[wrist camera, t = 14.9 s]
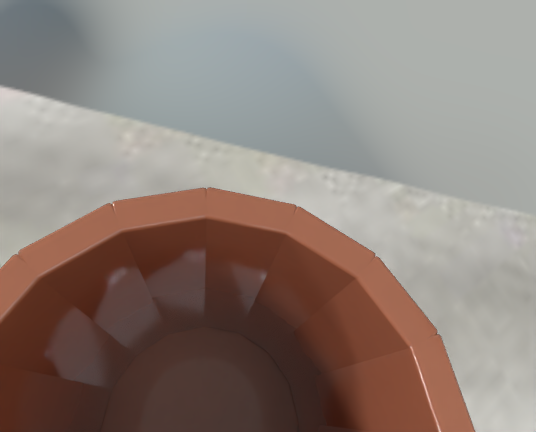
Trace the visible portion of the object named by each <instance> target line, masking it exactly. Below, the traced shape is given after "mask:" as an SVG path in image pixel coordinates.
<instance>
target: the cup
mask: <svg viewBox="0 0 536 432" xmlns="http://www.w3.org/2000/svg"><path fill="white" fill-rule="evenodd" d="M0 432H475V430H474V427H473V424H472V421H471V418H470V416H469V413H468V410H467V407H466V405H465V402H464V399H463V396H462V393H461V391H460V388H459V385H458V382H457V380H456V377H455V374H454V371H453V368H452V366H451V363H450V360H449V357H448V355H447V352H446V349H445V346H444V344H443V341H442V338H441V336H440V335H439V334H437V329H436V328H435V327H434V326H433V324H432V323H431V322H430V321H429V319H428V318H427V317H426V316H425V314H424V313H423V312H422V311H421V309H420V308H419V307H418V306H417V304H416V303H415V302H414V301H413V299H412V298H411V297H410V296H409V294H408V293H407V292H406V291H405V289H404V288H403V287H402V286H401V284H400V283H399V282H398V281H397V279H396V278H395V277H394V276H393V274H392V273H391V272H390V271H389V269H388V268H387V267H386V266H385V264H384V263H383V262H382V261H381V259H380V258H379V257H377V256H376V257H375V253H374V252H372V251H371V250H369V249H367V248H366V247H364V246H363V245H361V244H359V243H358V242H356V241H354V240H353V239H351V238H350V237H348V236H346V235H345V234H343V233H341V232H340V231H338V230H337V229H335V228H333V227H332V226H330V225H329V224H327V223H325V222H324V221H322V220H320V219H319V218H317V217H316V216H314V215H312V214H311V213H309V212H307V211H306V210H304V209H303V208H301V207H296V205H294V204H289V203H284V202H279V201H274V200H269V199H265V198H260V197H255V196H250V195H245V194H240V193H235V192H230V191H225V190H220V189H216V188H211V187H210V188H207V189H206V188H198V189H191V190H185V191H178V192H171V193H165V194H158V195H151V196H145V197H138V198H131V199H125V200H118V201H114V202H113V204H111V203H108V204H106V205H104V206H102V207H100V208H98V209H96V210H94V211H92V212H91V213H89V214H87V215H85V216H83V217H81V218H79V219H77V220H76V221H74V222H72V223H70V224H68V225H66V226H64V227H62V228H61V229H59V230H57V231H55V232H53V233H51V234H49V235H47V236H46V237H44V238H42V239H40V240H38V241H36V242H34V243H32V244H30V245H29V246H27V247H25V248H23V249H21V250H20V251H19V252H18V254H15V255H13V256H12V257H11V258H10V259H9V260H8V261H7V262H6V263H5V265H4V266H3V267H2V268H1V269H0Z"/></svg>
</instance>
